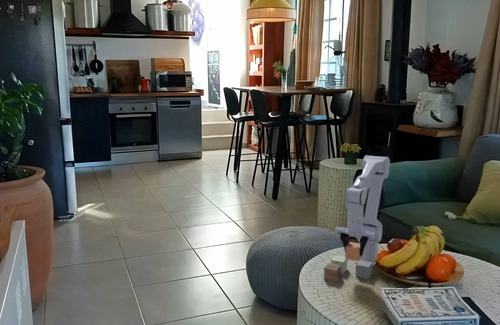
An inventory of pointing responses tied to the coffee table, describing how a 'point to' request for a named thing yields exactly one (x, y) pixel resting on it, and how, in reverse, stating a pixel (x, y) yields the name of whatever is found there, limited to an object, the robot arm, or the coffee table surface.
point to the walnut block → (332, 272)
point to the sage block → (340, 262)
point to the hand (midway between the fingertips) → (354, 253)
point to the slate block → (364, 269)
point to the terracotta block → (353, 251)
